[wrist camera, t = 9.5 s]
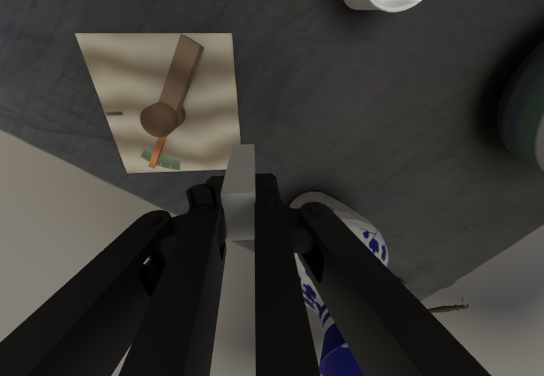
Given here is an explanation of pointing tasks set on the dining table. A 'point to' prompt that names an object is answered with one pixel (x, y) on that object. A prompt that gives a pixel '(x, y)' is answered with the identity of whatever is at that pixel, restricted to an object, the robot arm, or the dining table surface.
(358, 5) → the cup
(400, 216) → the dining table surface
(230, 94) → the cream flat square slab
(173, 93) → the wooden mallet
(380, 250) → the vase
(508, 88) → the planter
